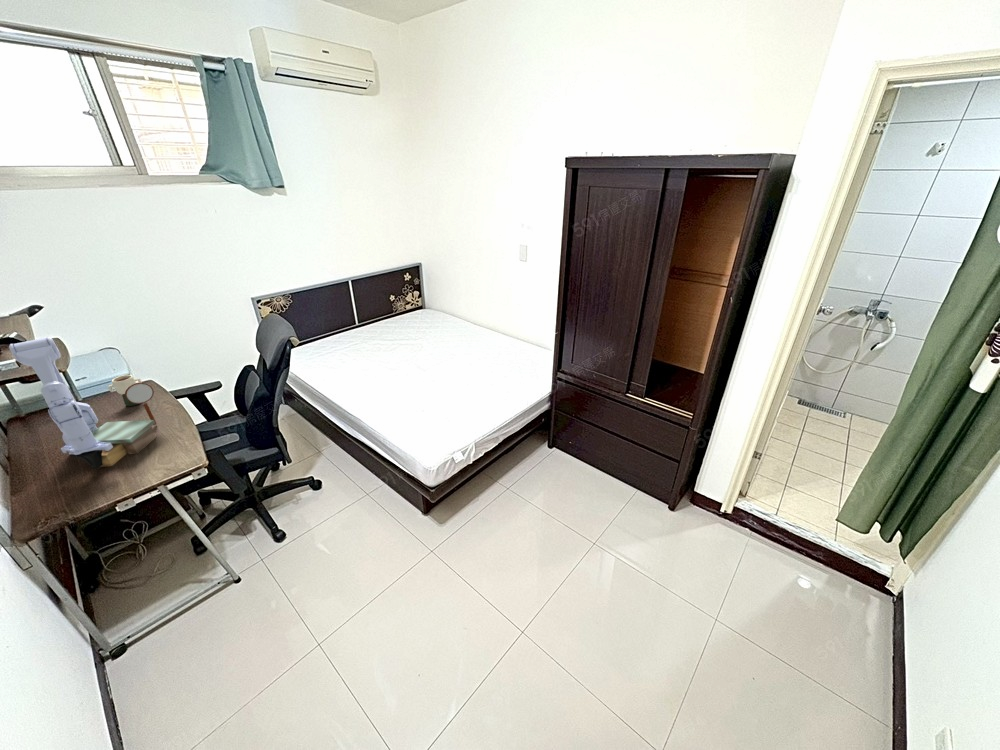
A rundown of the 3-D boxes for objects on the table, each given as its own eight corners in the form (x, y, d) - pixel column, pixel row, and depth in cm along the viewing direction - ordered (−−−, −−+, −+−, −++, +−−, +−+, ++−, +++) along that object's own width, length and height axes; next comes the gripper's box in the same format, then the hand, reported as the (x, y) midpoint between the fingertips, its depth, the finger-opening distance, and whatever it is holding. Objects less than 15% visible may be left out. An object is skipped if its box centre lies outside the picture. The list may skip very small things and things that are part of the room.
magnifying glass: (143, 431, 160) (121, 388, 150) (142, 430, 161) (120, 387, 151) (168, 421, 166) (149, 380, 157) (167, 420, 167) (147, 378, 158)
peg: (97, 467, 141) (90, 456, 139) (123, 446, 152) (117, 435, 149) (112, 466, 141) (106, 455, 139) (136, 445, 152) (131, 435, 150)
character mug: (149, 396, 185) (137, 371, 179) (150, 402, 180) (138, 376, 174) (118, 405, 178) (105, 379, 172) (119, 411, 174) (105, 385, 168)
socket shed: (89, 459, 144) (79, 441, 141) (116, 438, 155) (106, 422, 152) (139, 456, 146) (129, 439, 142) (161, 436, 157) (153, 419, 153)
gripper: (44, 443, 128) (66, 475, 135) (92, 441, 129) (111, 473, 136) (64, 430, 135) (83, 462, 141) (109, 428, 136) (127, 459, 142)
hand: (98, 466), depth 139 cm, fingers closed
